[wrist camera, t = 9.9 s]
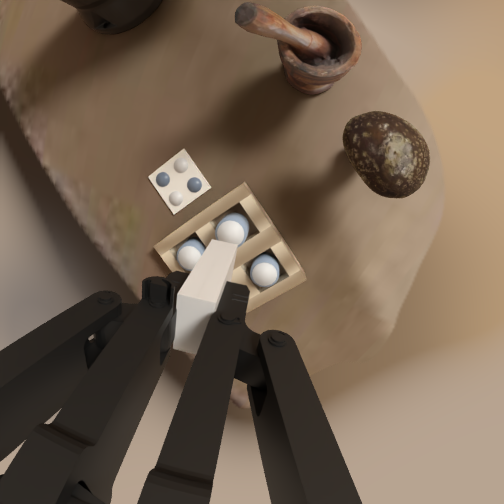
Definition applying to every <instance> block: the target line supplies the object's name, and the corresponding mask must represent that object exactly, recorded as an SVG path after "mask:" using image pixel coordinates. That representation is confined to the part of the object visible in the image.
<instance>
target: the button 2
mask: <svg viewBox="0 0 504 504" xmlns="http://www.w3.org/2000/svg"><path fill="white" fill-rule="evenodd" d="M248 232H249V222H248V220H247V219H246V217H245V216H243V215H242V214H240V213H229V214H227V215H226V216H224V217H223V219H222V220H221V221H220V222H219V223H218V225H217V227H216V229H215V237H216V239H217V240H218V241H223V242H228V243H233V244H237V245H238V247H240V246H241V245H242V244H243V243H244V242H245V240H246V237H247V235H248ZM238 247H237V248H238Z"/></svg>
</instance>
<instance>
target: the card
mask: <svg viewBox="0 0 504 504" xmlns="http://www.w3.org/2000/svg"><path fill="white" fill-rule="evenodd" d="M148 178H149V179H150V181H151V182H152V184H153V185H154V187H155V188H156V190H157V191H158V192H159V194H160V195H161V197H162V198H163V200H164V201H165V203H166V204H167V205H168V207H169V208H170V210H171V211H172V213H173V214H176V213H177V212H178V211H180V210H181V209H182V208H184V207H185V206H187V205H188V204H189V203H191V202H192V201H193V200H195V199H196V198H198V197H199V196H200V195H202V194H203V193H205V192H206V191H207V190H209V189H210V188H211V186H210V185H209V183H208V182H207V180H206V179H205V178H204V176H203V175H202V173H201V172H200V170H199V169H198V167H197V166H196V165H195V163H194V162H193V160H192V159H191V157H190V156H189V154H188V153H187V152H186V150H185V149H183V150H181V151H180V152H179V153H177V154H176V155H175V156H174V157H172V158H171V159H170V160H168V161H167V162H166V163H165V164H163V165H162V166H161V167H160V168H158V169H157V170H156V171H155V172H154V173H152V174H151V175H150V176H149V177H148Z"/></svg>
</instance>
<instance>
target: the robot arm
mask: <svg viewBox="0 0 504 504" xmlns="http://www.w3.org/2000/svg"><path fill="white" fill-rule="evenodd" d="M61 1H63V2H65V3H67V4H69V5H71V6H73V7H75V8H76V9H77V11H78V12H79V14H80V15H81V17H82V19H83V20H84V22H85V23H86V25H87V26H89V27H90V28H91V29H93V30H95V31H97V32H99V33H102V34H117V33H121V32H124V31H127V30H129V29H131V28H133V27H135V26H137V25H138V24H140V23H141V22H143V21H144V20H145V19H147V18H148V17H149V16H150V15H151V14H152V13H153V12H154V11H155V10H156V8H157V7H158V6H159V4H160V3H161V1H162V0H61ZM237 247H238V245H237V244H233V243H228V242H223V241H218V240H214V239H212V240H211V242H210V243H209V245H208V246H207V248H206V249H205V251H204V253H203V254H202V256H201V257H200V259H199V260H198V262H197V263H196V265H195V267H194V268H193V270H192V271H191V273H190V274H189V273H185V272H181V271H177V270H176V271H174V272H172V273H170V274H169V275H168V276H167V277H166V278H164V277H158V276H156V277H148V278H146V279H144V280H143V281H142V299H141V301H140V302H139V303H138V304H127V303H122V299H121V297H120V295H118V294H117V293H115V292H112V291H99V292H97V293H94V294H92V295H91V296H89V297H88V298H86V299H84V300H83V301H81V302H79V303H77V304H75V305H74V306H72V307H71V308H69V309H67V310H65V311H64V312H62V313H60V314H59V315H57V316H56V317H54V318H52V319H51V320H49V321H47V322H46V323H44V324H42V325H41V326H39V327H37V328H36V329H34V330H33V331H31V332H30V333H28V334H26V335H25V336H23V337H21V338H20V339H18V340H17V341H15V342H14V343H12V344H10V345H9V346H7V347H6V348H4V349H3V350H1V351H0V461H2V460H3V459H4V458H5V457H7V456H8V455H9V454H10V453H11V452H12V451H13V450H15V449H16V448H17V447H18V446H19V445H20V444H21V443H22V442H24V440H26V441H25V442H24V444H23V445H22V447H21V448H20V450H19V451H18V453H17V454H16V456H15V458H14V459H13V461H12V462H11V464H10V465H9V467H8V469H7V470H6V472H5V474H2V475H0V504H110V502H111V498H112V486H113V483H114V481H115V478H116V475H117V473H118V471H119V469H120V466H121V464H122V462H123V459H124V457H125V455H126V452H127V450H128V448H129V445H130V443H131V441H132V438H133V436H134V434H135V432H136V429H137V427H138V425H139V422H140V420H141V418H142V416H143V414H144V411H145V409H146V407H147V405H148V402H149V400H150V398H151V396H152V394H153V391H154V389H155V387H156V385H157V383H158V380H159V378H160V376H161V374H162V372H163V369H164V367H165V365H166V363H167V361H168V359H169V357H170V346H171V344H172V342H173V340H174V344H173V348H174V349H177V350H181V351H184V352H188V353H192V354H196V356H195V359H194V362H193V365H192V367H191V370H190V372H189V375H188V378H187V381H186V383H185V386H184V389H183V392H182V394H181V397H180V400H179V403H178V405H177V408H176V411H175V413H174V416H173V419H172V422H171V425H170V427H169V430H168V433H167V436H166V438H165V441H164V444H163V447H162V450H161V453H160V455H159V458H158V461H157V464H156V466H155V468H154V469H152V470H151V471H150V472H149V474H148V476H147V478H146V481H145V483H144V486H143V489H142V492H141V495H140V498H139V500H138V503H137V504H209V502H210V497H211V492H212V486H213V479H214V474H215V469H216V464H217V459H218V455H219V449H220V445H221V439H222V434H223V429H224V424H225V420H226V414H227V409H228V404H229V399H230V394H231V389H232V384H233V379H234V378H235V379H238V380H240V381H242V382H244V383H246V384H247V391H248V396H249V401H250V406H251V411H252V416H253V421H254V426H255V431H256V435H257V440H258V445H259V449H260V454H261V459H262V464H263V468H264V473H265V477H266V482H267V486H268V490H269V495H270V499H271V504H362V502H361V500H360V497H359V495H358V492H357V490H356V487H355V485H354V483H353V480H352V478H351V475H350V473H349V470H348V468H347V466H346V464H345V461H344V458H343V456H342V454H341V451H340V449H339V446H338V444H337V441H336V439H335V437H334V434H333V432H332V429H331V427H330V425H329V422H328V420H327V417H326V415H325V413H324V410H323V408H322V405H321V403H320V401H319V398H318V396H317V394H316V391H315V389H314V386H313V384H312V381H311V379H310V377H309V374H308V372H307V369H306V367H305V365H304V362H303V360H302V358H301V355H300V353H299V350H298V348H297V346H296V343H295V341H294V340H293V338H292V337H291V336H290V335H288V334H287V333H284V332H282V331H278V330H267V331H265V332H263V333H262V334H261V335H260V334H257V333H255V332H253V331H252V330H250V329H249V328H248V327H247V325H246V323H245V316H246V310H247V305H248V300H249V295H250V290H249V288H248V287H247V285H243V284H238V283H233V282H231V279H232V274H233V269H234V263H235V258H236V253H237ZM91 335H94V338H93V339H92V340H88V338H89V337H90V336H91ZM61 408H62V409H61ZM60 409H61V410H60ZM59 410H60V412H59V413H58V415H57V416H56V418H55V419H54V421H53V422H52V423H50V424H44V423H45V422H46V421H47V420H48V419H50V418H51V417H52V416H53V415H54V414H55V413H56V412H58V411H59Z"/></svg>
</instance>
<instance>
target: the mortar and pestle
mask: <svg viewBox="0 0 504 504" xmlns="http://www.w3.org/2000/svg"><path fill="white" fill-rule="evenodd" d="M235 23H237V24H238V25H239V26H240V27H241V28H243V29H245V30H246V31H248V32H251V33H254V34H258V35H261V36H265V37H269V38H274V39H277V42H278V49H279V55H280V58H281V61H282V63H283V65H284V67H285V68H284V71H285V76H286V79H287V81H288V82H289V83H290V84H291V85H292V86H293V87H294V88H295V89H297V90H299V91H300V92H303V93H306V94H319V93H322V92H324V91H326V90H328V89H330V88H331V87H332V86H333V84H334V82H336V81H338V80H340V79H341V78H342V77H344V76H345V75H346V74H347V73H348V71H349V70H350V69H351V68H352V67H354V66H355V65H356V64H357V62H358V60H359V57H360V55H361V49H362V43H361V39H360V35H359V33H358V32H357V31H356V29H355V26H354V25H353V24H352V23H351V22H350V21H349V20H348V19H347V18H346V17H345V16H344V15H342V14H341V13H339V12H337V11H335V10H333V9H331V8H326V7H322V6H309V7H303V8H300V9H297V10H295V11H294V12H292V13H291V14H289V15H288V16H287V17H286V18H285V19H283V18H282V17H281V16H279V15H278V14H276V13H275V12H273V11H272V10H270V9H268V8H267V7H264V6H262V5H259V4H255V3H250V2H247V3H243V4H242V5H241V6H239V7H238V8H237V10H236V12H235Z"/></svg>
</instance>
